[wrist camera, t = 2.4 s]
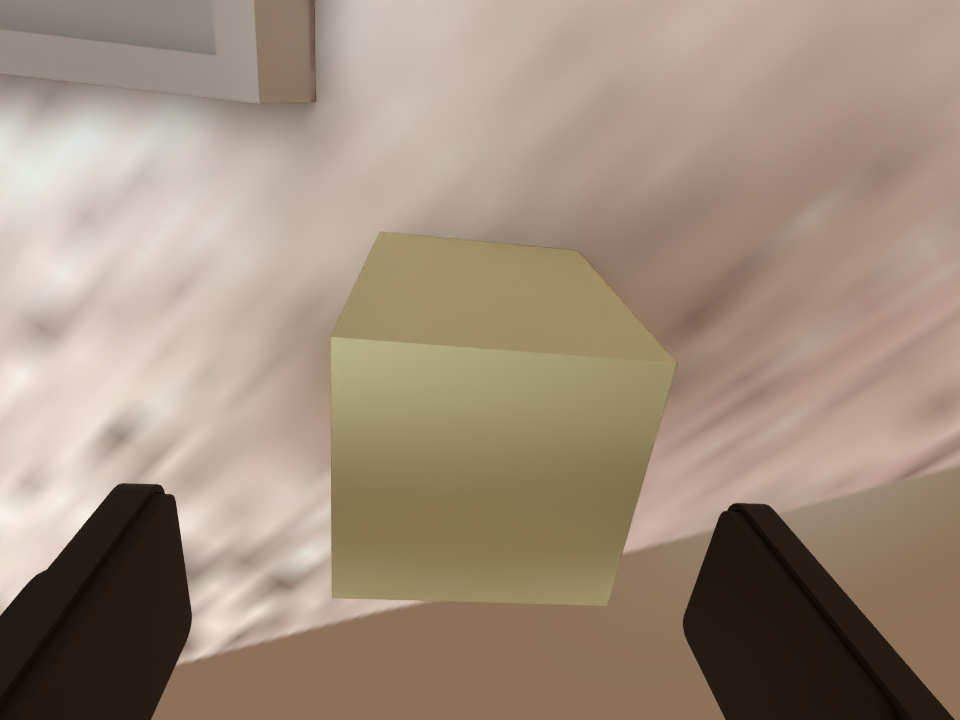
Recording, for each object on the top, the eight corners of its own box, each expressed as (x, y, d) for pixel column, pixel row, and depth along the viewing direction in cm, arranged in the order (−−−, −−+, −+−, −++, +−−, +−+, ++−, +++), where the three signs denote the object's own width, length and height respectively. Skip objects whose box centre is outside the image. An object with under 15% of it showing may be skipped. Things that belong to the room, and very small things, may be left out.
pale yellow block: (577, 250, 17) (677, 363, 10) (546, 417, 19) (607, 605, 12) (380, 231, 16) (330, 337, 9) (374, 406, 19) (331, 597, 12)
